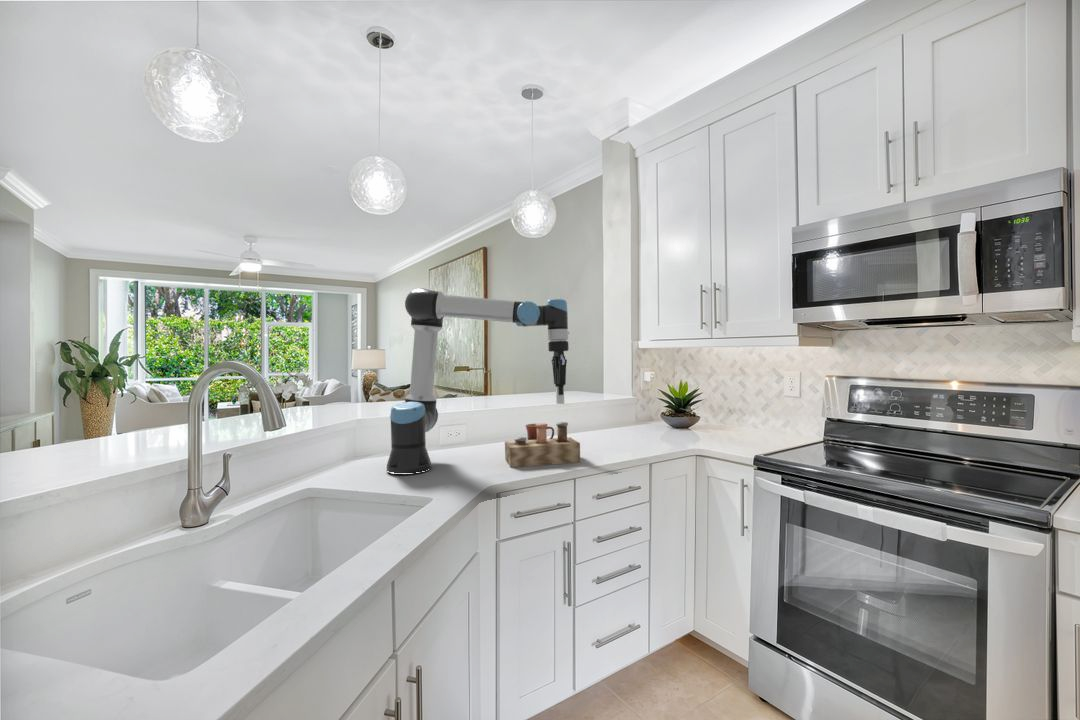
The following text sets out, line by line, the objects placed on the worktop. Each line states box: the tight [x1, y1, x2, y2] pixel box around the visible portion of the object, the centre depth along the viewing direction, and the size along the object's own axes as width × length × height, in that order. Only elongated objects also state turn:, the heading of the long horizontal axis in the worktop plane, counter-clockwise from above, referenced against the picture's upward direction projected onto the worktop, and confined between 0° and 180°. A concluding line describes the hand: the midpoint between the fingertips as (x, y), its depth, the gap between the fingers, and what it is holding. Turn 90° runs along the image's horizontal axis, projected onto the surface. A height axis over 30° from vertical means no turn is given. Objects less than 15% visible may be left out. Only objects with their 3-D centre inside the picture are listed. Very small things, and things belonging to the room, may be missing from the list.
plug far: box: [555, 421, 569, 443], centre depth 177 cm, size 4×4×9 cm
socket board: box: [504, 437, 581, 468], centre depth 175 cm, size 26×12×7 cm, turn 103°
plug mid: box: [535, 422, 548, 444], centre depth 175 cm, size 4×4×9 cm
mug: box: [524, 423, 555, 440], centre depth 195 cm, size 12×9×10 cm
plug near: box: [514, 436, 527, 445], centre depth 173 cm, size 4×4×9 cm
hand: (560, 403), depth 176 cm, fingers closed
